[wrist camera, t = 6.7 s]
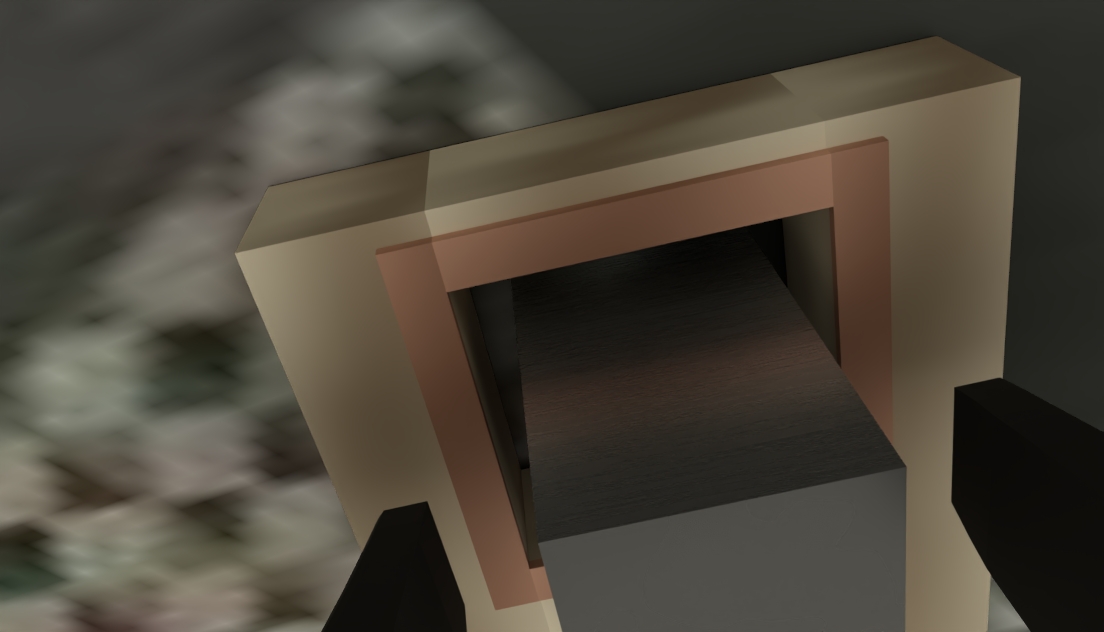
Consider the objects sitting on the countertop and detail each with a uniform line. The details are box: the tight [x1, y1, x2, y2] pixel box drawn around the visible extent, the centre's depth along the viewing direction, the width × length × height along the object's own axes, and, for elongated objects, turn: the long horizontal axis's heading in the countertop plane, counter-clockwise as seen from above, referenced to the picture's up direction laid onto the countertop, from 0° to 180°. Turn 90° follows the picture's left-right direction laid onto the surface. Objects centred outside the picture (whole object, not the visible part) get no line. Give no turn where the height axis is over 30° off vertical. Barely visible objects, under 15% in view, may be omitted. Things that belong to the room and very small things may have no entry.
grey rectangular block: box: [511, 226, 907, 632], centre depth 14 cm, size 4×4×7 cm
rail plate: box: [235, 36, 1021, 632], centre depth 18 cm, size 11×18×3 cm, turn 12°
